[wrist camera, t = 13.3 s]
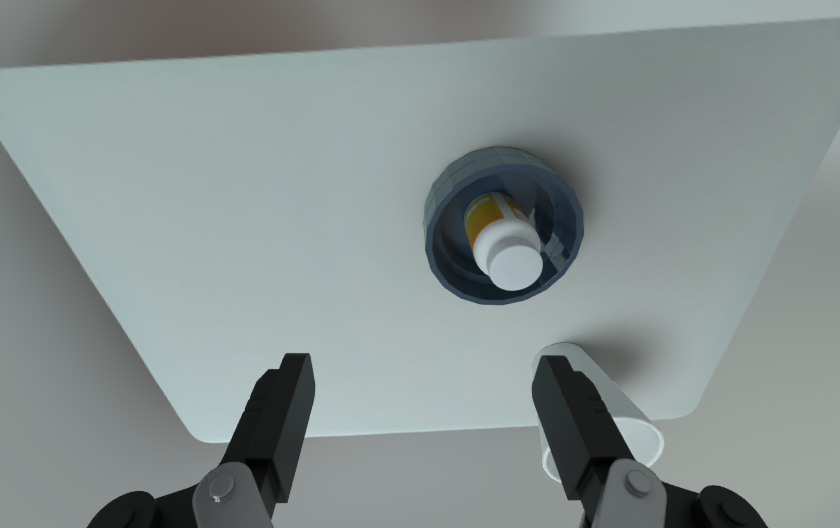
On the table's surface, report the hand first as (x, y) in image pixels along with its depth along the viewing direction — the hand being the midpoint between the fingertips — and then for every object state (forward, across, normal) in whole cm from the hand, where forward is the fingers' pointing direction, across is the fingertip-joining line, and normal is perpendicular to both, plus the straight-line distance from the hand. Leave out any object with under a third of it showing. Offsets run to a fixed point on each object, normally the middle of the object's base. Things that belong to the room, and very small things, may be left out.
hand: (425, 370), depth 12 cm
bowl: (+24, -8, +4) cm, 25 cm away
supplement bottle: (+23, -8, +4) cm, 25 cm away
